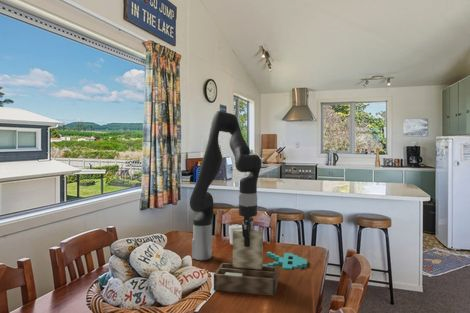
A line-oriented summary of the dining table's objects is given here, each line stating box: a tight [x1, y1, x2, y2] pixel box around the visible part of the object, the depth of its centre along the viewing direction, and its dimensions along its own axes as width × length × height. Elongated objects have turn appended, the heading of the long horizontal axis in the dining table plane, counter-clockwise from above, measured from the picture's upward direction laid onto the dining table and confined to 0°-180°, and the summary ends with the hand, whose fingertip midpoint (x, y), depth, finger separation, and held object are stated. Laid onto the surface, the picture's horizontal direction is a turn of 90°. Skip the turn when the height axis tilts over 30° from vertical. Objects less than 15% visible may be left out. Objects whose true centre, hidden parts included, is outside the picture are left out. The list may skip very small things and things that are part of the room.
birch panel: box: [232, 229, 264, 269], centre depth 135 cm, size 12×3×15 cm, turn 78°
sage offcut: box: [224, 272, 243, 276], centre depth 131 cm, size 7×4×5 cm, turn 78°
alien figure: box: [263, 251, 308, 271], centre depth 159 cm, size 20×2×20 cm
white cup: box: [228, 224, 242, 246], centre depth 191 cm, size 8×8×10 cm
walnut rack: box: [213, 262, 279, 296], centre depth 133 cm, size 24×13×7 cm, turn 78°
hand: (247, 245), depth 135 cm, fingers closed on birch panel, 3 cm apart
